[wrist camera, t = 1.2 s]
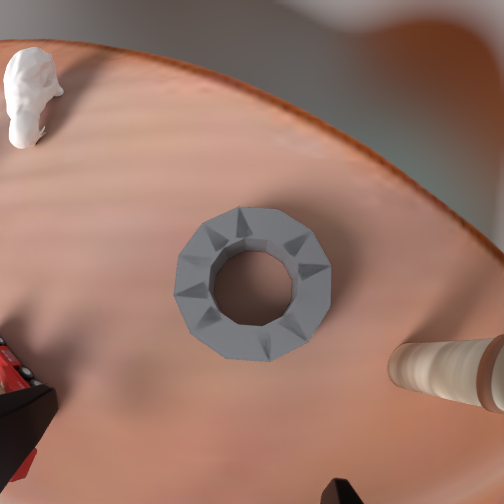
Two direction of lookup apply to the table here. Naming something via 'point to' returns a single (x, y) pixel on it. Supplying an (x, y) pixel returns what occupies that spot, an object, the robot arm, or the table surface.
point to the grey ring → (263, 240)
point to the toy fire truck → (11, 379)
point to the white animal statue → (29, 93)
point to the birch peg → (453, 370)
